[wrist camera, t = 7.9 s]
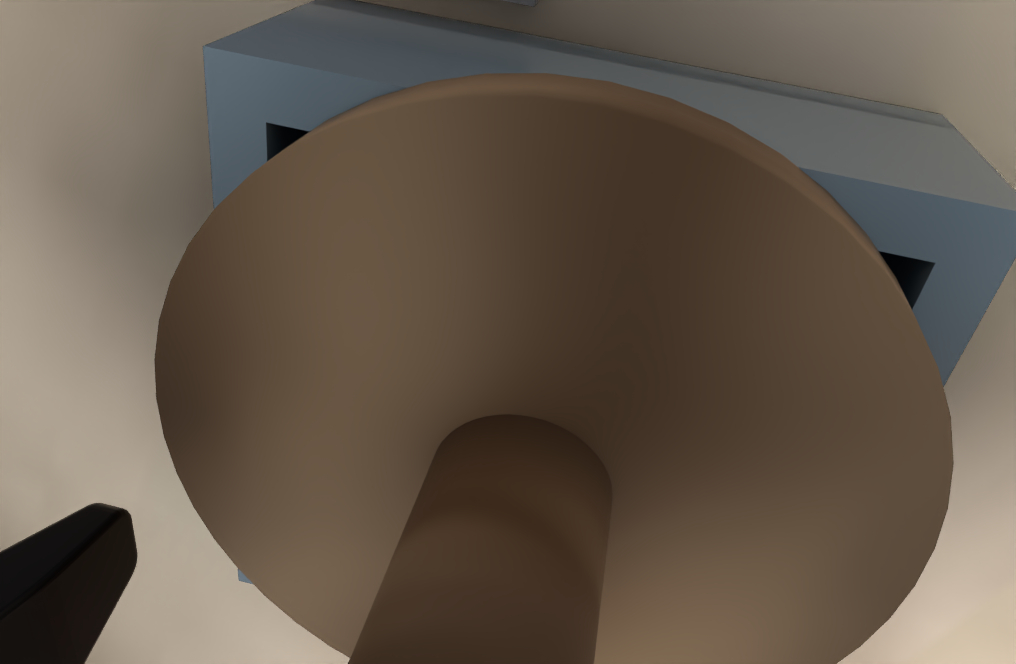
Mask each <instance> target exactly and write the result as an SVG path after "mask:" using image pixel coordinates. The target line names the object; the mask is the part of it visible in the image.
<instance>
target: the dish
mask: <svg viewBox="0 0 1016 664" xmlns="http://www.w3.org/2000/svg"><path fill="white" fill-rule="evenodd" d="M203 55H204V70H205V85H206V100H207V115H208V130H209V145H210V160H211V174H212V189H213V204H214V209H215V208H216V207H217V206H218V205H219V204H220V203H221V202H222V201H223V200H224V199H225V198H226V197H227V196H228V195H229V194H230V193H231V192H232V191H233V190H235V189H236V188H237V187H238V186H239V185H240V184H241V183H242V182H243V181H244V180H245V179H246V178H247V177H248V176H249V175H250V174H251V173H253V172H254V171H255V170H257V169H258V168H259V167H261V166H262V165H263V164H265V163H266V162H267V161H269V160H270V159H271V158H273V157H274V156H275V155H277V154H278V153H279V152H281V151H282V150H283V149H285V148H286V147H287V146H289V145H290V144H292V143H293V142H295V141H296V140H298V139H299V138H301V137H302V136H304V135H305V134H307V133H308V132H310V131H311V130H313V129H314V128H316V127H317V126H319V125H320V124H322V123H323V122H325V121H326V120H328V119H330V118H332V117H334V116H336V115H338V114H340V113H343V112H345V111H347V110H349V109H351V108H353V107H355V106H358V105H360V104H362V103H364V102H366V101H368V100H370V99H373V98H375V97H378V96H381V95H385V94H388V93H392V92H395V91H398V90H402V89H405V88H409V87H412V86H415V85H419V84H422V83H426V82H430V81H437V80H444V79H451V78H458V77H465V76H472V75H479V74H485V73H549V74H557V75H565V76H572V77H580V78H587V79H595V80H603V81H610V82H613V83H617V84H621V85H624V86H628V87H632V88H635V89H639V90H643V91H647V92H650V93H654V94H658V95H661V96H665V97H669V98H672V99H674V100H676V101H679V102H681V103H683V104H686V105H688V106H691V107H693V108H695V109H698V110H700V111H702V112H705V113H707V114H710V115H712V116H714V117H717V118H719V119H721V120H724V121H726V122H728V123H730V124H732V125H734V126H735V127H737V128H739V129H740V130H742V131H744V132H745V133H747V134H749V135H750V136H752V137H754V138H755V139H757V140H759V141H760V142H762V143H764V144H766V145H767V146H769V147H771V148H772V149H774V150H776V151H777V152H779V153H781V154H782V155H783V156H785V157H786V158H787V159H788V160H790V161H791V162H792V163H793V164H795V165H796V166H797V167H798V168H800V169H801V170H802V171H803V172H805V173H806V174H807V175H808V176H809V177H811V178H812V179H813V180H814V181H816V182H817V183H818V184H819V185H821V186H822V187H823V188H824V189H826V190H827V191H828V192H829V193H830V194H831V195H832V196H833V197H834V198H835V200H836V201H837V202H838V203H839V204H840V205H841V206H842V207H843V208H844V209H845V210H846V211H847V213H848V214H849V215H850V216H851V217H852V218H853V219H854V220H855V221H856V222H857V223H858V224H859V226H860V227H861V228H862V229H863V230H864V231H865V232H866V233H867V235H868V236H869V238H870V239H871V241H872V242H873V244H874V245H875V247H876V248H877V250H878V251H879V253H880V254H881V256H882V257H883V259H884V260H885V262H886V263H887V265H888V266H889V268H890V269H891V271H892V272H893V274H894V275H895V277H896V278H897V280H898V282H899V284H900V287H901V289H902V291H903V293H904V295H905V297H906V299H907V301H908V303H909V305H910V307H911V309H912V311H913V313H914V315H915V317H916V319H917V322H918V324H919V326H920V328H921V331H922V333H923V335H924V337H925V339H926V342H927V344H928V346H929V348H930V351H931V353H932V355H933V357H934V359H935V362H936V364H937V366H938V368H939V372H940V376H941V380H942V384H943V387H944V385H945V383H946V382H947V380H948V378H949V376H950V374H951V373H952V371H953V369H954V367H955V365H956V364H957V362H958V360H959V358H960V356H961V355H962V353H963V351H964V349H965V348H966V346H967V344H968V342H969V340H970V339H971V337H972V335H973V333H974V331H975V330H976V328H977V326H978V324H979V322H980V321H981V319H982V317H983V315H984V313H985V312H986V310H987V308H988V306H989V305H990V303H991V301H992V299H993V297H994V296H995V294H996V292H997V290H998V288H999V287H1000V285H1001V283H1002V281H1003V279H1004V278H1005V276H1006V274H1007V272H1008V270H1009V269H1010V267H1011V265H1012V263H1013V262H1014V260H1015V258H1016V191H1015V190H1014V189H1013V188H1012V187H1011V186H1010V185H1009V184H1008V183H1007V182H1006V181H1005V180H1004V179H1003V177H1002V176H1001V175H1000V174H999V173H998V172H997V171H996V170H995V169H994V168H993V167H992V166H991V165H990V164H989V163H988V162H987V161H986V160H985V159H984V158H983V157H982V156H981V154H980V153H979V152H978V151H977V150H976V149H975V148H974V147H973V146H972V145H971V144H970V143H969V142H968V141H967V140H966V139H965V138H964V137H963V136H962V135H961V134H960V132H959V131H958V130H957V129H956V128H955V127H954V126H953V125H952V124H951V123H950V122H949V121H948V120H947V119H946V118H945V117H944V116H943V115H942V114H937V113H932V112H927V111H922V110H916V109H911V108H906V107H901V106H896V105H891V104H886V103H880V102H875V101H870V100H865V99H860V98H855V97H849V96H844V95H839V94H834V93H829V92H824V91H819V90H813V89H808V88H803V87H798V86H793V85H788V84H783V83H777V82H772V81H767V80H762V79H757V78H752V77H746V76H741V75H736V74H731V73H726V72H721V71H716V70H710V69H705V68H700V67H695V66H690V65H685V64H680V63H674V62H669V61H664V60H659V59H654V58H649V57H643V56H638V55H633V54H628V53H623V52H618V51H613V50H607V49H602V48H597V47H592V46H587V45H582V44H577V43H571V42H566V41H561V40H556V39H551V38H546V37H541V36H535V35H530V34H525V33H520V32H515V31H510V30H504V29H499V28H494V27H489V26H484V25H479V24H474V23H468V22H463V21H458V20H453V19H448V18H443V17H438V16H432V15H427V14H422V13H417V12H412V11H407V10H401V9H396V8H391V7H386V6H381V5H376V4H371V3H365V2H360V1H355V0H314V1H311V2H309V3H307V4H304V5H302V6H299V7H297V8H294V9H292V10H290V11H287V12H285V13H282V14H280V15H277V16H275V17H273V18H270V19H268V20H265V21H263V22H260V23H258V24H256V25H253V26H251V27H248V28H246V29H243V30H241V31H239V32H236V33H234V34H231V35H229V36H226V37H224V38H222V39H219V40H217V41H214V42H212V43H209V44H207V45H205V46H203ZM238 577H239V581H243V582H247V583H250V584H253V583H252V582H251V581H250V580H249V579H248V578H247V577H246V576H245V575H244V574H243V573H242V572H241V571H240V570H239V569H238Z"/></svg>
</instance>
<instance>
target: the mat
mask: <svg viewBox="0 0 1016 664" xmlns="http://www.w3.org/2000/svg"><path fill="white" fill-rule="evenodd" d="M501 1H507V2H512V3H517V4H522V5H528V6H533V7H534V6H535V5H536V4H537V3H538V0H501Z"/></svg>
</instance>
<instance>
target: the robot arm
mask: <svg viewBox="0 0 1016 664" xmlns="http://www.w3.org/2000/svg"><path fill="white" fill-rule="evenodd" d="M136 563H137V548H136V542H135V536H134V530H133V524H132V518H131V515H130V513H129V512H128V511H127V510H125V509H123V508H119V507H115V506H111V505H107V504H103V503H94V504H91V505H88V506H86V507H84V508H82V509H80V510H78V511H76V512H75V513H73V514H71V515H69V516H67V517H65V518H63V519H61V520H59V521H58V522H56V523H54V524H52V525H50V526H48V527H46V528H44V529H42V530H41V531H39V532H37V533H35V534H33V535H31V536H29V537H27V538H25V539H24V540H22V541H20V542H18V543H16V544H14V545H12V546H10V547H8V548H7V549H5V550H3V551H1V552H0V664H85V662H86V660H87V658H88V656H89V654H90V653H91V651H92V649H93V647H94V645H95V643H96V641H97V640H98V638H99V636H100V634H101V632H102V630H103V628H104V627H105V625H106V623H107V621H108V619H109V617H110V615H111V614H112V612H113V610H114V608H115V606H116V604H117V602H118V601H119V599H120V597H121V595H122V593H123V591H124V589H125V588H126V586H127V584H128V582H129V580H130V578H131V576H132V574H133V572H134V570H135V567H136Z"/></svg>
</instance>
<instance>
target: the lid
mask: <svg viewBox="0 0 1016 664" xmlns="http://www.w3.org/2000/svg"><path fill="white" fill-rule="evenodd" d="M155 378H156V399H157V404H158V409H159V414H160V419H161V424H162V429H163V434H164V438H165V441H166V444H167V446H168V449H169V452H170V455H171V458H172V461H173V464H174V466H175V469H176V472H177V474H178V476H179V478H180V480H181V482H182V484H183V486H184V488H185V490H186V493H187V495H188V497H189V499H190V501H191V503H192V505H193V507H194V508H195V510H196V511H197V513H198V514H199V516H200V517H201V519H202V521H203V522H204V524H205V525H206V527H207V528H208V530H209V531H210V533H211V534H212V536H213V538H214V539H215V540H216V542H217V543H218V544H219V545H220V547H221V548H222V549H223V550H224V551H225V553H226V554H227V555H228V556H229V558H230V559H231V560H232V561H233V563H234V564H235V565H236V566H237V568H238V569H239V570H240V571H241V572H242V573H243V574H244V575H245V576H246V577H247V578H248V579H249V580H250V581H251V582H252V583H253V584H254V585H255V586H256V587H257V588H258V589H259V590H260V591H261V592H262V593H263V594H264V595H265V596H266V597H267V598H268V599H269V600H270V601H272V602H273V603H274V604H275V605H276V606H278V607H279V608H280V609H281V610H282V611H283V612H285V613H286V614H287V615H288V616H289V617H291V618H292V619H293V620H294V621H295V622H297V623H298V624H299V625H301V626H302V627H304V628H305V629H306V630H308V631H309V632H311V633H312V634H313V635H315V636H316V637H318V638H319V639H321V640H322V641H323V642H325V643H326V644H328V645H329V646H331V647H333V648H334V649H336V650H338V651H339V652H341V653H343V654H344V655H346V656H348V657H349V658H350V660H349V663H348V664H836V663H838V662H839V661H841V660H842V659H843V658H845V657H846V656H848V655H849V654H850V653H852V652H853V651H854V650H856V649H857V648H859V647H860V646H861V645H862V644H863V643H864V642H865V641H866V640H867V639H869V638H870V637H871V636H872V635H873V634H874V633H875V632H876V631H877V630H878V629H879V628H880V627H881V626H882V625H883V624H884V623H885V622H886V621H887V620H888V619H889V618H890V617H891V616H892V615H893V613H894V612H895V611H896V610H897V608H898V607H899V606H900V604H901V603H902V602H903V600H904V599H905V598H906V597H907V595H908V594H909V593H910V591H911V590H912V589H913V587H914V586H915V585H916V583H917V581H918V579H919V577H920V575H921V573H922V571H923V570H924V568H925V566H926V564H927V562H928V560H929V558H930V556H931V555H932V553H933V551H934V549H935V546H936V543H937V540H938V537H939V534H940V531H941V527H942V524H943V521H944V518H945V515H946V512H947V509H948V503H949V495H950V487H951V479H952V471H953V448H952V431H951V416H950V412H949V408H948V404H947V400H946V396H945V392H944V388H943V384H942V380H941V376H940V372H939V368H938V366H937V364H936V362H935V359H934V357H933V355H932V353H931V351H930V348H929V346H928V344H927V342H926V339H925V337H924V335H923V333H922V331H921V328H920V326H919V324H918V322H917V319H916V317H915V315H914V313H913V311H912V309H911V307H910V305H909V303H908V301H907V299H906V297H905V295H904V293H903V291H902V289H901V287H900V284H899V282H898V280H897V278H896V277H895V275H894V274H893V272H892V271H891V269H890V268H889V266H888V265H887V263H886V262H885V260H884V259H883V257H882V256H881V254H880V253H879V251H878V250H877V248H876V247H875V245H874V244H873V242H872V241H871V239H870V238H869V236H868V235H867V233H866V232H865V231H864V230H863V229H862V228H861V227H860V226H859V224H858V223H857V222H856V221H855V220H854V219H853V218H852V217H851V216H850V215H849V214H848V213H847V211H846V210H845V209H844V208H843V207H842V206H841V205H840V204H839V203H838V202H837V201H836V200H835V198H834V197H833V196H832V195H831V194H830V193H829V192H828V191H827V190H826V189H824V188H823V187H822V186H821V185H819V184H818V183H817V182H816V181H814V180H813V179H812V178H811V177H809V176H808V175H807V174H806V173H805V172H803V171H802V170H801V169H800V168H798V167H797V166H796V165H795V164H793V163H792V162H791V161H790V160H788V159H787V158H786V157H785V156H783V155H782V154H781V153H779V152H777V151H776V150H774V149H772V148H771V147H769V146H767V145H766V144H764V143H762V142H760V141H759V140H757V139H755V138H754V137H752V136H750V135H749V134H747V133H745V132H744V131H742V130H740V129H739V128H737V127H735V126H734V125H732V124H730V123H728V122H726V121H724V120H721V119H719V118H717V117H714V116H712V115H710V114H707V113H705V112H702V111H700V110H698V109H695V108H693V107H691V106H688V105H686V104H683V103H681V102H679V101H676V100H674V99H672V98H669V97H665V96H661V95H658V94H654V93H650V92H647V91H643V90H639V89H635V88H632V87H628V86H624V85H621V84H617V83H613V82H610V81H603V80H595V79H587V78H580V77H572V76H565V75H557V74H549V73H485V74H479V75H472V76H465V77H458V78H451V79H444V80H437V81H430V82H426V83H422V84H419V85H415V86H412V87H409V88H405V89H402V90H398V91H395V92H392V93H388V94H385V95H381V96H378V97H375V98H373V99H370V100H368V101H366V102H364V103H362V104H360V105H358V106H355V107H353V108H351V109H349V110H347V111H345V112H343V113H340V114H338V115H336V116H334V117H332V118H330V119H328V120H326V121H325V122H323V123H322V124H320V125H319V126H317V127H316V128H314V129H313V130H311V131H310V132H308V133H307V134H305V135H304V136H302V137H301V138H299V139H298V140H296V141H295V142H293V143H292V144H290V145H289V146H287V147H286V148H285V149H283V150H282V151H281V152H279V153H278V154H277V155H275V156H274V157H273V158H271V159H270V160H269V161H267V162H266V163H265V164H263V165H262V166H261V167H259V168H258V169H257V170H255V171H254V172H253V173H251V174H250V175H249V176H248V177H247V178H246V179H245V180H244V181H243V182H242V183H241V184H240V185H239V186H238V187H237V188H236V189H235V190H233V191H232V192H231V193H230V194H229V195H228V196H227V197H226V198H225V199H224V200H223V201H222V202H221V203H220V204H219V205H218V206H217V207H216V208H215V209H214V211H213V212H212V213H211V215H210V216H209V217H208V219H207V220H206V221H205V223H204V224H203V225H202V227H201V228H200V230H199V231H198V232H197V234H196V235H195V236H194V238H193V239H192V240H191V242H190V243H189V245H188V247H187V249H186V251H185V253H184V255H183V257H182V259H181V261H180V263H179V265H178V267H177V269H176V271H175V273H174V275H173V277H172V279H171V281H170V285H169V288H168V292H167V295H166V299H165V302H164V305H163V309H162V312H161V316H160V319H159V326H158V334H157V343H156V352H155Z"/></svg>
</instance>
